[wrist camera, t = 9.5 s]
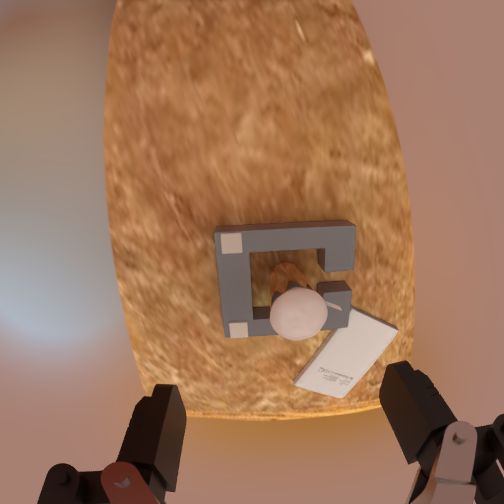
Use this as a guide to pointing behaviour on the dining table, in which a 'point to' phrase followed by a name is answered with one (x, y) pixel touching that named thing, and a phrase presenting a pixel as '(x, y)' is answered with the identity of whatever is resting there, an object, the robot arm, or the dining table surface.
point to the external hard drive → (346, 355)
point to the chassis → (278, 239)
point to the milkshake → (295, 304)
